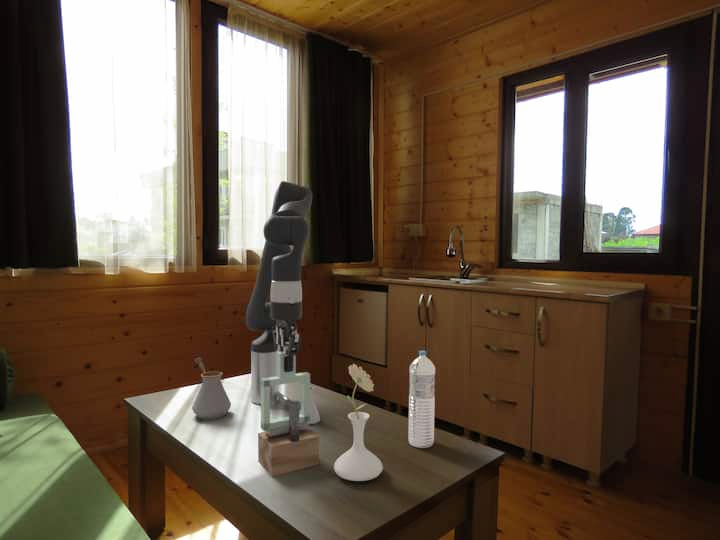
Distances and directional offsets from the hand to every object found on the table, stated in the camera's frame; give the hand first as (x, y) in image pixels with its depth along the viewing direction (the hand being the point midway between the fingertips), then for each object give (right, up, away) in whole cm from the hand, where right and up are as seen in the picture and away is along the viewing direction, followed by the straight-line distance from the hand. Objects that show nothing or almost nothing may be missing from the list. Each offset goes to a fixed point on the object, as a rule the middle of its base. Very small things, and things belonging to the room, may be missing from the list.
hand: (286, 369), depth 114 cm
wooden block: (+1, -23, 0) cm, 23 cm away
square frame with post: (0, -15, +1) cm, 15 cm away
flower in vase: (+17, -23, -4) cm, 29 cm away
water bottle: (+34, -22, +12) cm, 43 cm away
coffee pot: (-31, -21, +35) cm, 51 cm away
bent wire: (-2, -15, +4) cm, 16 cm away
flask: (+2, -21, +27) cm, 35 cm away
